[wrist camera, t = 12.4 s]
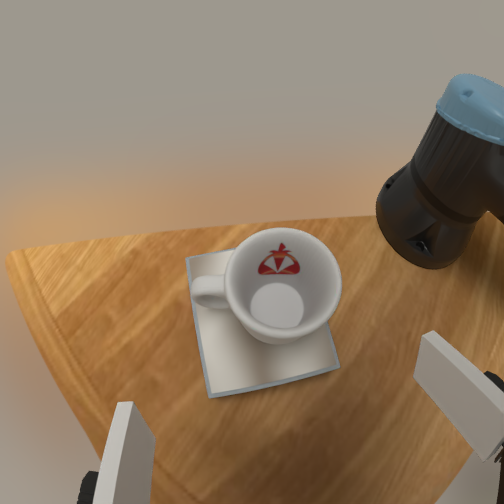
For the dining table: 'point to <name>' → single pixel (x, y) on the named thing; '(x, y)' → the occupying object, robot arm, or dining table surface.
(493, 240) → the dining table surface
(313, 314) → the cup
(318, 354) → the grey flat block
